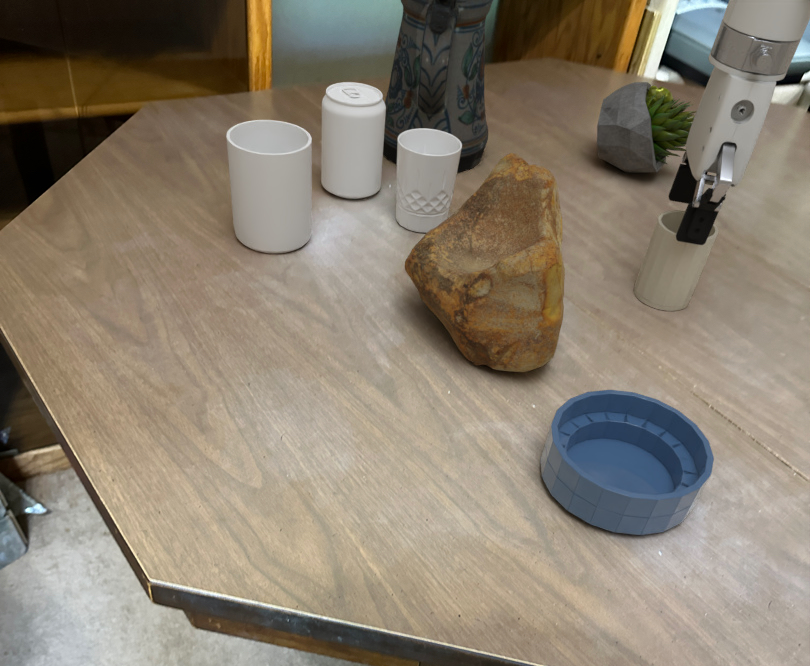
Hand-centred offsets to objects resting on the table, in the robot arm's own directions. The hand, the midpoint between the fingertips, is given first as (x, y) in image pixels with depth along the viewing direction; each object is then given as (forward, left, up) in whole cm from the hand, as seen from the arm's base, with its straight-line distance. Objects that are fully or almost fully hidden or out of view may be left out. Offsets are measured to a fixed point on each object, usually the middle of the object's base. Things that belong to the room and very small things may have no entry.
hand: (685, 220), depth 87 cm
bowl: (+10, +34, -9) cm, 37 cm away
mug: (+48, -5, -10) cm, 49 cm away
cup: (0, 0, -9) cm, 9 cm away
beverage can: (+40, -19, -10) cm, 45 cm away
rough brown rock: (+23, +10, -10) cm, 26 cm away
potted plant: (-2, -37, -10) cm, 38 cm away
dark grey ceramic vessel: (+29, -33, -10) cm, 45 cm away
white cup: (+30, -12, -10) cm, 33 cm away
